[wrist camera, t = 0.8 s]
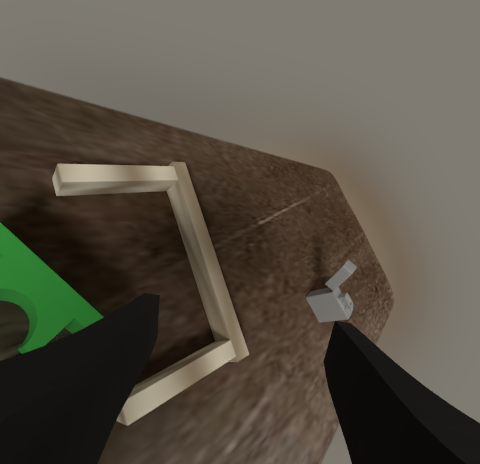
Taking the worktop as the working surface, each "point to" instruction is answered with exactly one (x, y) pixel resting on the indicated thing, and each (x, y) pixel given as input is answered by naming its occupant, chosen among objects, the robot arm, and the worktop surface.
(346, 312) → the lighter
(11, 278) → the pipe clamp
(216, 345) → the frame
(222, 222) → the worktop surface
